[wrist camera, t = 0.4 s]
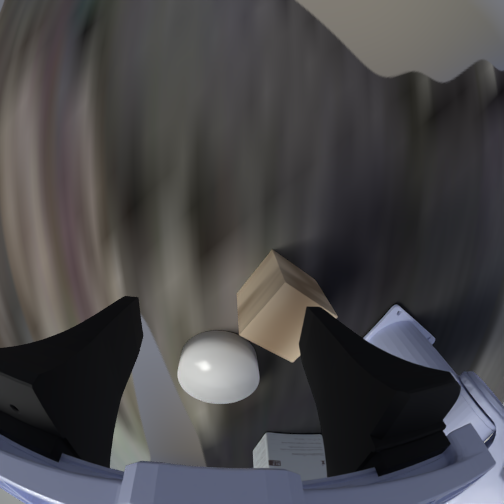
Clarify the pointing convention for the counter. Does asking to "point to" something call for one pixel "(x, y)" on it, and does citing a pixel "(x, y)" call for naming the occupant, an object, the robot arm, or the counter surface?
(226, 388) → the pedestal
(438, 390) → the robot arm
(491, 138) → the counter surface
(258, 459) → the skincare box
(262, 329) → the beech block
